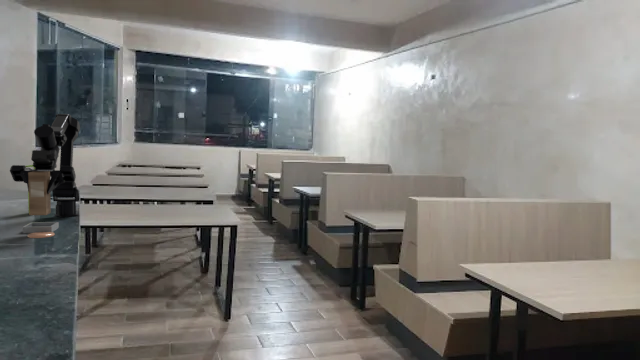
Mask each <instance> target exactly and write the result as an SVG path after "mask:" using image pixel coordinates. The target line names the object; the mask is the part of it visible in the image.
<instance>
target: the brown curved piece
mask: <svg viewBox="0 0 640 360" xmlns="http://www.w3.org/2000/svg"><path fill="white" fill-rule="evenodd" d="M54 236H55V232H54V231H53V232H36V233H27V238H31V239H42V238H51V237H54Z"/></svg>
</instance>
